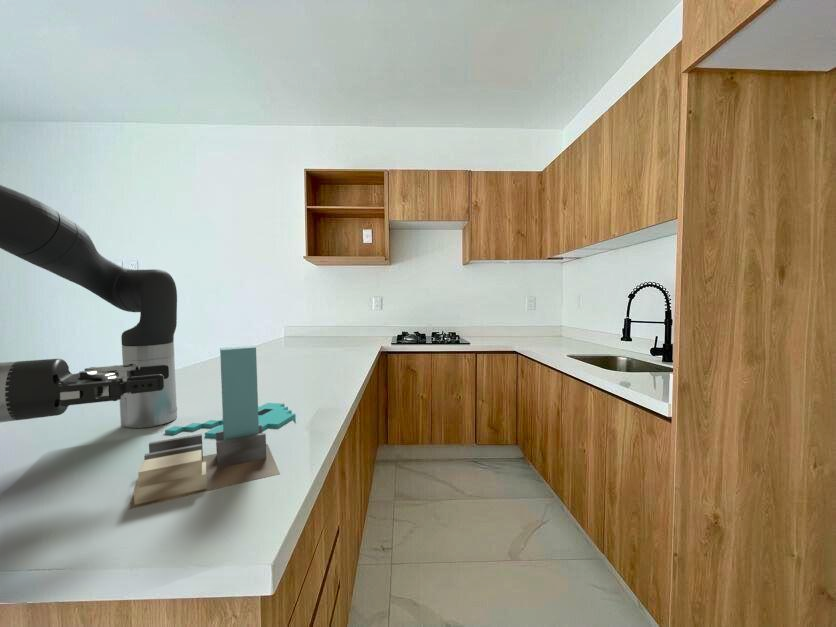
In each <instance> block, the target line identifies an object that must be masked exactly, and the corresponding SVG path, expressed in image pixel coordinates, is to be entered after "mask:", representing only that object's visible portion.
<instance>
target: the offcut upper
mask: <svg viewBox="0 0 836 627" xmlns="http://www.w3.org/2000/svg"><path fill="white" fill-rule="evenodd" d="M201 474H202V450H197V451H192V452H186V453H181V454H175V455H170V456H164V457H159V458H154V459H148V460H145V459H144V460H142V461H141V465H140V467H139V469H138V473H137V475H138V477H139V487H144V486H149V485H154V484H158V483H163V482H168V481H172V480H177V479H182V478H187V477H191V476H196V475H201ZM138 477H137V478H138Z"/></svg>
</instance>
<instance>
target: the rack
mask: <svg viewBox="0 0 836 627" xmlns="http://www.w3.org/2000/svg"><path fill="white" fill-rule="evenodd" d="M215 444H216V449H215V450H216V453H213V454H208V455H203V454H204V452H203V451H204V450H203V433H200V434H193V435H192V434H191V435H187V436H182V437H181V436H180V437H175V438H169V439H162V440H156V441H151V442H149V443H148V453H145V454H144V460H148V459H154V458H159V457H164V456H170V455H175V454H181V453H186V452H192V451H197V450H202V462H206V473H207V488H206V489H201V490H197V491H193V492H188V493H184V494H180V495H175V496H171V497H167V498H162V499H158V500H153V501H149V502H145V503H140V504H136V505H135V502H134V494H133V495H132V499H131V501H130V504H129V507H128V510H130V509H136V508H139V507H140V508H141V507H144V506H150V505H154V504H157V503H160V502H166V501H171V500H174V499H180V498H182V497H188V496H191V495H196V494H200V493H205V492H208V491H213V490H217V489H221V488H222V489H223V488H225V487H231V486H234V485H239V484H242V483H248V482H251V481H257V480H260V479H264V478H265V479H266V478H269V477H272V476H278V475H280V474H281V472H280V470H279V468H278V465H277V463H276V461H275V458H274V456H273V454H272V451H271V448H270V447H269V444H268V443H267V434H266V432H263V431H262V425H261V424H259V434H254V435H249V436H243V437H237V438H232V439H226V440H224V436H223V430H222V431H216V438H215Z"/></svg>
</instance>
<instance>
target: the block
mask: <svg viewBox="0 0 836 627" xmlns="http://www.w3.org/2000/svg"><path fill="white" fill-rule="evenodd" d="M219 351H220V352H219V353H220V376H221V377H220V379H221V380H220V381H221V401H222V402H221V403H222V404H221V405H222V419H223V436H224V440H226V439H232V438H237V437H243V436H249V435H254V434H259V421H258V407H259V399H258V398H259V397H258V396H259V395H258V367H257V366H258V363H257V347H256V346H255V345H246V346H243V345H242V346H234V347H233V346H231V347H221V348H220V349H219Z"/></svg>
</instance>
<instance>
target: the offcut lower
mask: <svg viewBox="0 0 836 627" xmlns="http://www.w3.org/2000/svg"><path fill="white" fill-rule="evenodd" d="M206 488H207V473H206V462H202V474H201V475H196V476H191V477H187V478H182V479H177V480H172V481H168V482H163V483H158V484H154V485H149V486H144V487H139V477H137V480H136V483H135V486H134V488H133V495H134V502H135V505H136V504H140V503H145V502H149V501H153V500H158V499H162V498H167V497H171V496H175V495H180V494H184V493H188V492H193V491H197V490H201V489H206Z"/></svg>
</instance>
